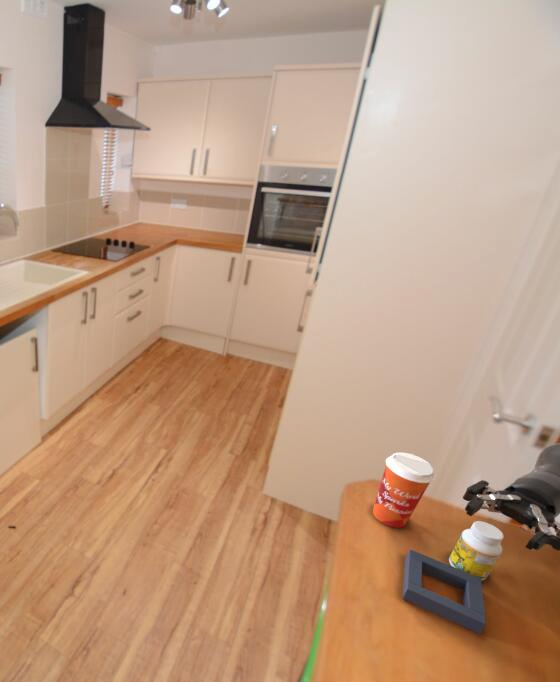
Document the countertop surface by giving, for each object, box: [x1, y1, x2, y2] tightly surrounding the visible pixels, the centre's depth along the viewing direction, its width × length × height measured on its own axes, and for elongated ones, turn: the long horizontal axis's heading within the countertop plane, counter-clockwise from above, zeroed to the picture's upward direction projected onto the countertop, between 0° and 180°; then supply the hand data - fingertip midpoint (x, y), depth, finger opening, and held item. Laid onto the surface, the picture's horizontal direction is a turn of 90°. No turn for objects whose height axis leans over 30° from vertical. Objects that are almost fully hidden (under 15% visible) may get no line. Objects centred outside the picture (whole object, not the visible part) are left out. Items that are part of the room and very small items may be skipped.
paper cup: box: [372, 451, 437, 529], centre depth 90 cm, size 8×8×14 cm
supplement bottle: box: [448, 520, 505, 581], centre depth 81 cm, size 5×5×10 cm
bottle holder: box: [402, 549, 487, 635], centre depth 78 cm, size 10×10×2 cm
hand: (498, 527), depth 82 cm, fingers open, 8 cm apart
